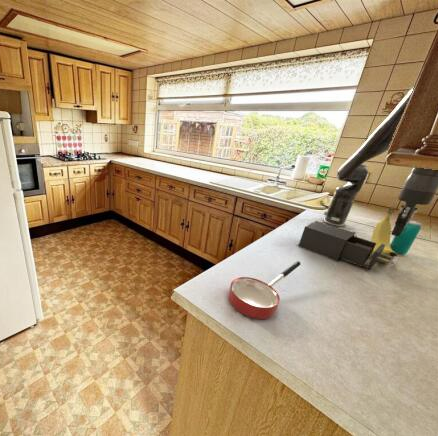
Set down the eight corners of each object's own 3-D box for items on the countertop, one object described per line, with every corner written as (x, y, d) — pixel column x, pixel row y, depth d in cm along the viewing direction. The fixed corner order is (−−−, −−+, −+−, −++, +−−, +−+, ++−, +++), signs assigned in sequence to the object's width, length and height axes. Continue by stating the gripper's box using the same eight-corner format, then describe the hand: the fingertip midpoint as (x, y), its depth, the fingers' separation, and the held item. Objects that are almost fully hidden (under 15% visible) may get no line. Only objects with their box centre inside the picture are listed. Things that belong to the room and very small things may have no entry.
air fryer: (346, 252, 101) (355, 232, 97) (337, 261, 94) (346, 240, 90) (309, 239, 111) (316, 220, 108) (298, 245, 104) (304, 226, 100)
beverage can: (397, 250, 105) (414, 220, 99) (409, 257, 100) (427, 225, 94) (383, 249, 106) (399, 218, 100) (394, 255, 100) (411, 224, 95)
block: (351, 253, 96) (356, 242, 94) (367, 258, 93) (372, 247, 91) (348, 256, 93) (352, 245, 92) (363, 262, 90) (369, 251, 88)
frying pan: (268, 264, 89) (272, 250, 86) (306, 282, 79) (312, 266, 77) (219, 299, 69) (223, 282, 67) (262, 328, 60) (268, 309, 58)
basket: (393, 267, 89) (402, 250, 86) (386, 277, 83) (397, 259, 80) (336, 247, 103) (343, 231, 100) (327, 254, 96) (334, 238, 93)
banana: (396, 272, 88) (423, 224, 80) (376, 267, 91) (400, 220, 83) (379, 248, 106) (400, 207, 98) (363, 244, 109) (382, 204, 101)
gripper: (434, 193, 70) (407, 244, 77) (438, 188, 78) (413, 235, 84) (400, 187, 76) (377, 235, 82) (406, 183, 83) (385, 227, 90)
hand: (395, 235), depth 83 cm, fingers closed
